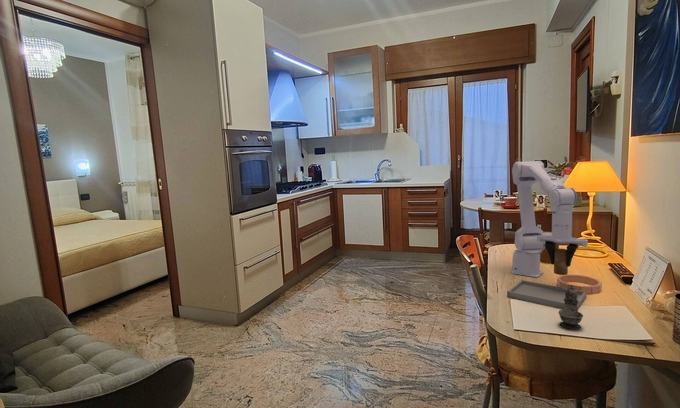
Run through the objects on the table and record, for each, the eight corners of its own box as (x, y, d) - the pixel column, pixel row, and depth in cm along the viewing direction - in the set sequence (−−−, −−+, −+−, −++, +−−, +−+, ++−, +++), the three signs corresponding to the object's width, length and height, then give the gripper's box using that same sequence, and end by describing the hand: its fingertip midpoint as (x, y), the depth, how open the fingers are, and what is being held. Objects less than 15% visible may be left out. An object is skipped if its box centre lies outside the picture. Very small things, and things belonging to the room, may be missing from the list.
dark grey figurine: (553, 322, 108) (554, 281, 107) (572, 320, 109) (574, 280, 107) (567, 331, 102) (568, 289, 101) (587, 330, 103) (589, 287, 101)
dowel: (552, 273, 128) (552, 250, 127) (555, 270, 131) (556, 247, 130) (565, 275, 125) (566, 252, 124) (568, 272, 128) (569, 249, 127)
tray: (507, 297, 128) (507, 291, 127) (521, 285, 138) (521, 279, 137) (575, 311, 114) (576, 305, 114) (586, 297, 124) (586, 291, 124)
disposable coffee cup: (537, 257, 171) (538, 231, 169) (562, 259, 165) (562, 232, 164) (533, 262, 163) (534, 235, 162) (559, 265, 158) (560, 237, 156)
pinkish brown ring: (553, 288, 133) (553, 281, 133) (562, 278, 142) (563, 272, 142) (596, 296, 124) (596, 289, 124) (604, 285, 133) (604, 278, 133)
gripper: (534, 224, 128) (533, 264, 129) (584, 229, 118) (583, 271, 120) (540, 221, 133) (539, 259, 135) (589, 225, 123) (588, 265, 125)
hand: (560, 264), depth 127 cm, fingers closed on dowel, 4 cm apart
